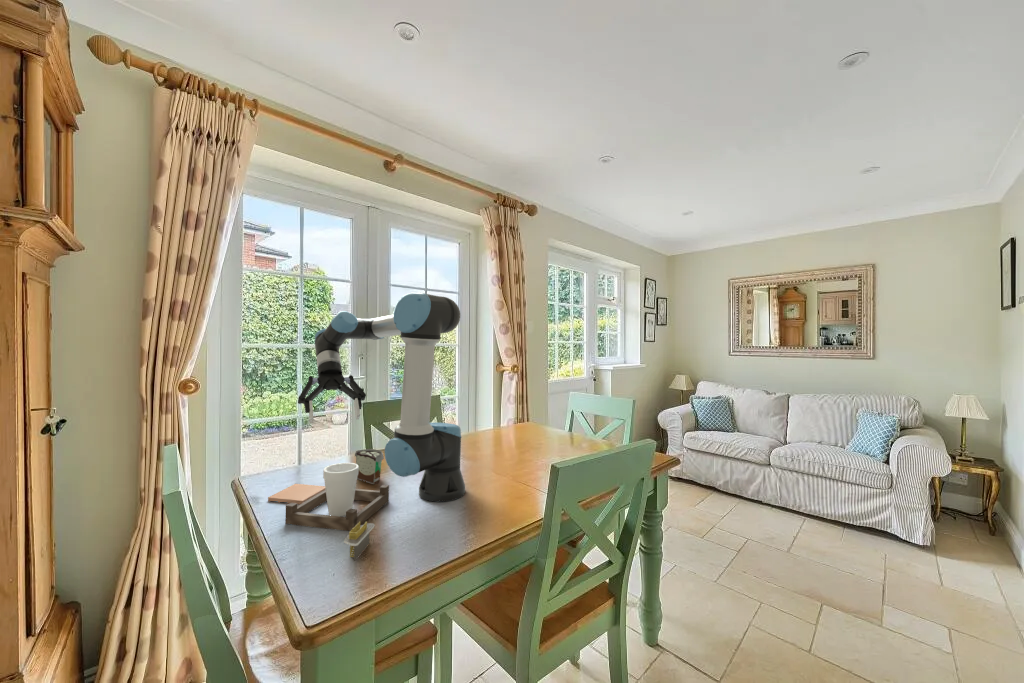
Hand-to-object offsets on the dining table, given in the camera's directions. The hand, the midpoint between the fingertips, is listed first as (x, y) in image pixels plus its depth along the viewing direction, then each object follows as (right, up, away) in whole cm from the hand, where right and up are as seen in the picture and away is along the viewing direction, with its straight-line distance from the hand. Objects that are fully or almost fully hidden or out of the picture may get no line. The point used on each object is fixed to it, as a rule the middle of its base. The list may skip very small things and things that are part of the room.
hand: (335, 418), depth 125 cm
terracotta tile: (-13, -25, +3) cm, 29 cm away
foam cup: (+5, -26, -9) cm, 28 cm away
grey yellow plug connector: (+19, -27, -30) cm, 44 cm away
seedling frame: (+5, -26, -9) cm, 28 cm away
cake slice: (+5, -26, +19) cm, 32 cm away
